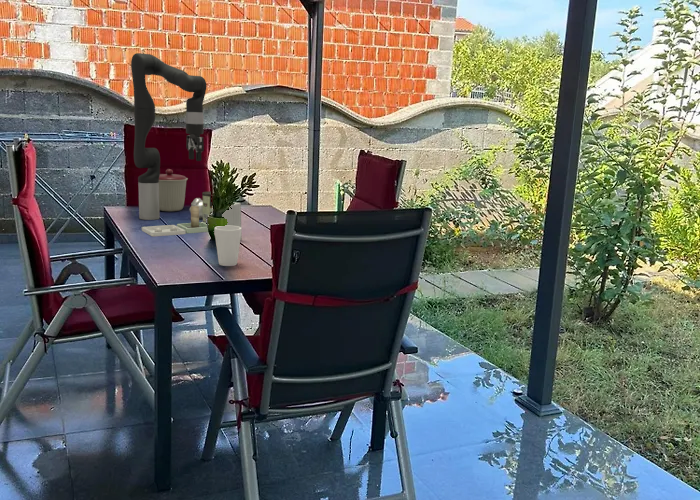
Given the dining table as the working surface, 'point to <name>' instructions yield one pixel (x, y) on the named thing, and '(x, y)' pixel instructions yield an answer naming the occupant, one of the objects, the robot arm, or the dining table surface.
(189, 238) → the dining table surface
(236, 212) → the skincare box
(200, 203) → the silver lobed ball
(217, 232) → the foam cup
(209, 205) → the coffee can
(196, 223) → the ball
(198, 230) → the tray
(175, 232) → the cream square tray
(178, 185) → the canister
